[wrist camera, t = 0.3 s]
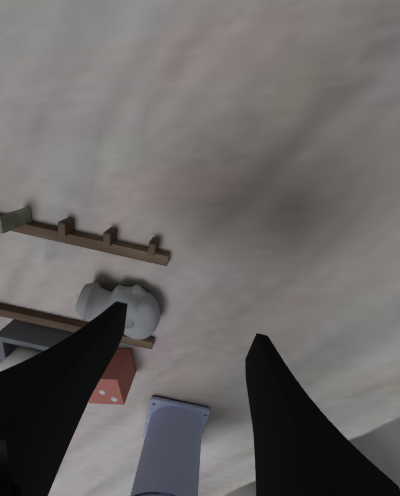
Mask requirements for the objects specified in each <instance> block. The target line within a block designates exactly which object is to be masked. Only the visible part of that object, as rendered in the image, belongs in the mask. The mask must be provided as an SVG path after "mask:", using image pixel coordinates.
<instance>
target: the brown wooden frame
mask: <svg viewBox="0 0 400 496" xmlns="http://www.w3.org/2000/svg"><path fill="white" fill-rule="evenodd" d="M8 231H14V232H19V233H23V234H27V235H32V236H36V237H41V238H45V239H49V240H54V241H58V242H63V243H67V244H71V245H76V246H80V247H85V248H89V249H93V250H98V251H102V252H107V253H111V254H115V255H120V256H124V257H129V258H133V259H137V260H142V261H146V262H151V263H155V264H159V265H164V266H167V264H168V261H169V256H170V253H167V252H163V251H159V250H158V244H159V239H158V238H154V237H153V238H152V239H151V241H150V242H149V246H148V248H145V247H141V246H137V245H132V244H128V243H124V242H119V241H116V234H117V229H114V228H109V229H108V230H107V231H105V232H104V234H103V238H102V237H97V236H93V235H89V234H84V233H80V232H75V231H74V219H71V218H66V219H64V220H62V221H60V222H58V227H54V226H49V225H45V224H40V223H36V222H32V216H31V209H27V208H22V209H19V210H16V211H13V212H10V213H7V214H4V215H1V214H0V233H5V232H8ZM0 316H2V317H7V318H11V319H16V320H20V321H25V322H29V323H34V324H39V325H43V326H48V327H52V328H57V329H61V330H66V331H70V332H76V331H77V330H79V329H80V328H82V327H83V326H85V325H86V324H87V322H82V321H77V320H73V319H68V318H64V317H59V316H55V315H50V314H46V313H41V312H37V311H32V310H28V309H23V308H19V307H14V306H9V305H5V304H0ZM154 339H155V337H150V336H149V337H147V338H145V339H141V340H137V339H132V338H130V337H128V336H126V335H125V334H123V336H122V339H121V341H120V342H121V343H125V344H130V345H134V346H139V347H143V348H148V349H152V347H153V344H154Z"/></svg>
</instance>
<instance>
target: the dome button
mask: <svg viewBox="0 0 400 496" xmlns="http://www.w3.org/2000/svg"><path fill="white" fill-rule="evenodd" d="M41 352H43V350H38V349H33V348H29V347H24V346H18V347H17V348H16V349H15V350H14V351H13V352H12V353H11V354H10V355H9V356H8V357H7V358H6V359H5V360H4V361H3V362H2V363H1V364H0V371H3V370H5V369H7V368H9V367H12V366H14V365H16V364H19V363H21V362H23V361H25V360H27V359H29V358H31V357H33V356H35V355H37V354H39V353H41Z"/></svg>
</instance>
